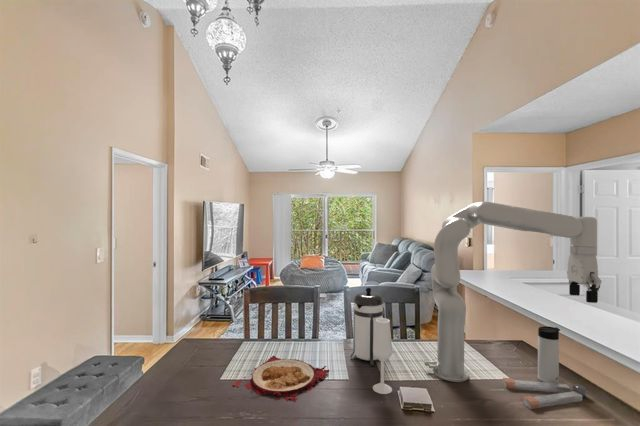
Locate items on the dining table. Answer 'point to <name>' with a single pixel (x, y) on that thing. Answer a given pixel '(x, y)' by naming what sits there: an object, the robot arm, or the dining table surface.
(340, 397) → the dining table surface
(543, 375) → the travel mug
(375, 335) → the champagne flute
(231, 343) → the dining table surface
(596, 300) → the robot arm
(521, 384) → the base
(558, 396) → the arm
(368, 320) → the coffee press
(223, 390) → the dining table surface
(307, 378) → the plate with food
